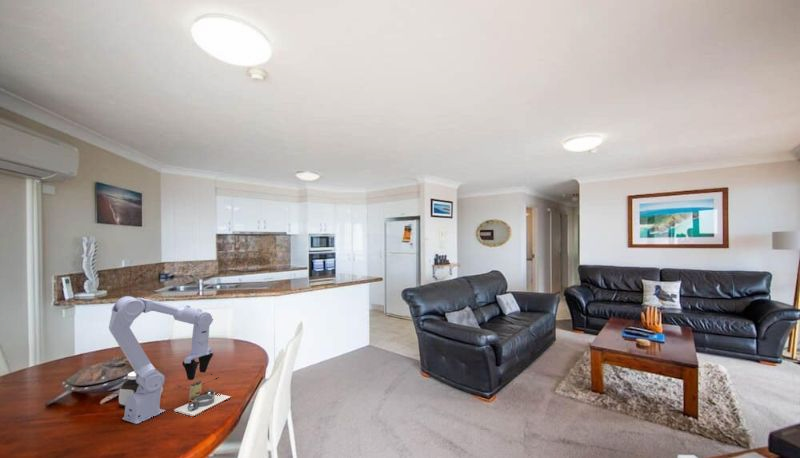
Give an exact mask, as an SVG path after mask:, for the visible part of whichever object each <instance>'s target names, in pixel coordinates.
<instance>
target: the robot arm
mask: <svg viewBox="0 0 800 458" xmlns="http://www.w3.org/2000/svg"><path fill="white" fill-rule="evenodd" d="M150 312H157V313H161V314H166V315H170V316H173V319H174V320H175V321H177V322H183V323H185V324H186V323H187V324H189V325H192V326H193V328H192V337H191V338H192V339H191V345H190V346H191V348H190V353H189V354H188V355H187V356H186V357H184V361H182V366H183V368H184V370H185V375H186V377H187V381H188V380H193V379H194V378H196V371H197V369H199V370H198V371H199V373H206V372H207V369H208V365H209V364H210V362H211V359H212V358H213V357H214V352H213V353H212V351H213V349H212V347H209V346H208V345H209V336H210V326H211V324H212V323H213V321H214V318H213V316H212V315H211V313H209V312H206V311H203V310H202V309H200V308H198V309H196V308H193V307H191V305H187V304H186V305H180V306H178V307H176V306H173V305H169V304H166V303H163V302H159V301H156V300H154V299H150V298H142V297H136V298H135V297H134V296H131V295H125V296H122V297H121V298H119V299H118V300H116V302H115V304H114V305H113V306H112V308H111V315H110V320H109V323H108V329H109V332H110V333H111V335H112V337H113V338H114V340H115V341H116V343H117V344H118V346H119V348H120V349H121V351H122V353H123V354H124V356H125V357H126V359H127V360H128V362H129V364H130V365H131V368H132V369H133V371H134V372H135V374H136V382H137V384H139V386H138V388H137V390H136V392H135V393H134V394H133V395H131V396H129V397H128V398H127V400H126V405H125V407H124V413H123V414H124V415H123V417H122V420H124V421H127V422H130V423H131V424H132V423H133V424H135V425H137V424H140V423H142V421H143V422H144V421H147V420H149V419H152V418H153V416H154V417H155V416H158V415H161V414H163V413H165V412H166V409H162V408H160V406H161V405H160V404H161V397H162V393H161V388H162V387H163V385H164V384H165V381H166V380H165V379H166V377H165V375H164V374H163V373H161V372H159V371H158V370H157V369H156V368H155V366H154V365H153V364H152V363H151V361H150V358H148V356H147V354H146V353H145V351H144V348H143V347H142V345H141V344H140V342H139V341H138V338H137V337H136V336H135V334H134V332H133V331H132V329H131V326H132V324H133V323H134V321H135V320H136V319H137V318H138V317H139V316H140V315H141V314H142V313H144V314H148V313H150ZM197 359H198V361H196V360H197ZM198 366H199V368H198ZM164 411H165V412H164ZM162 412H163V413H162ZM160 413H161V414H160ZM151 417H152V418H151Z"/></svg>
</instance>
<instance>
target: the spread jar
mask: <svg viewBox="0 0 800 458" xmlns="http://www.w3.org/2000/svg"><path fill="white" fill-rule="evenodd" d="M126 378H127V379H126V380H125V381H124V382H123V383H122V384H121V386H120V388H119V393H118V403H119V405H120V406H122V407H123V408H125V405H126V400H127V398H128V397H129V396H131V395H133V394H134V393H135V392H136V390H137V388H138V386H139V384H137V382H136V374H135V372H134V370H133V371H131V372H129V373H127V377H126ZM163 390H164V388H163V386H162V388H161V394H162V393H163Z"/></svg>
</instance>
